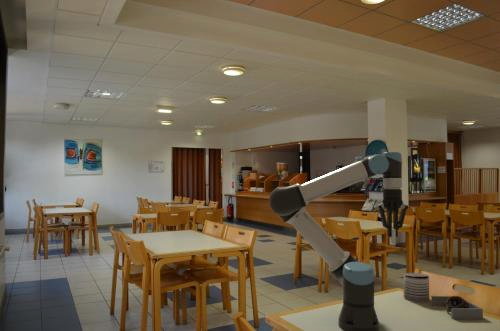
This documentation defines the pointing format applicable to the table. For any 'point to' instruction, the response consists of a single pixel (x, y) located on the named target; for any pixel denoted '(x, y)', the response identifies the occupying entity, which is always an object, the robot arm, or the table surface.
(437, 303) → the box
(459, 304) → the brown ring with knob
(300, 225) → the robot arm
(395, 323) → the table surface
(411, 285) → the can
